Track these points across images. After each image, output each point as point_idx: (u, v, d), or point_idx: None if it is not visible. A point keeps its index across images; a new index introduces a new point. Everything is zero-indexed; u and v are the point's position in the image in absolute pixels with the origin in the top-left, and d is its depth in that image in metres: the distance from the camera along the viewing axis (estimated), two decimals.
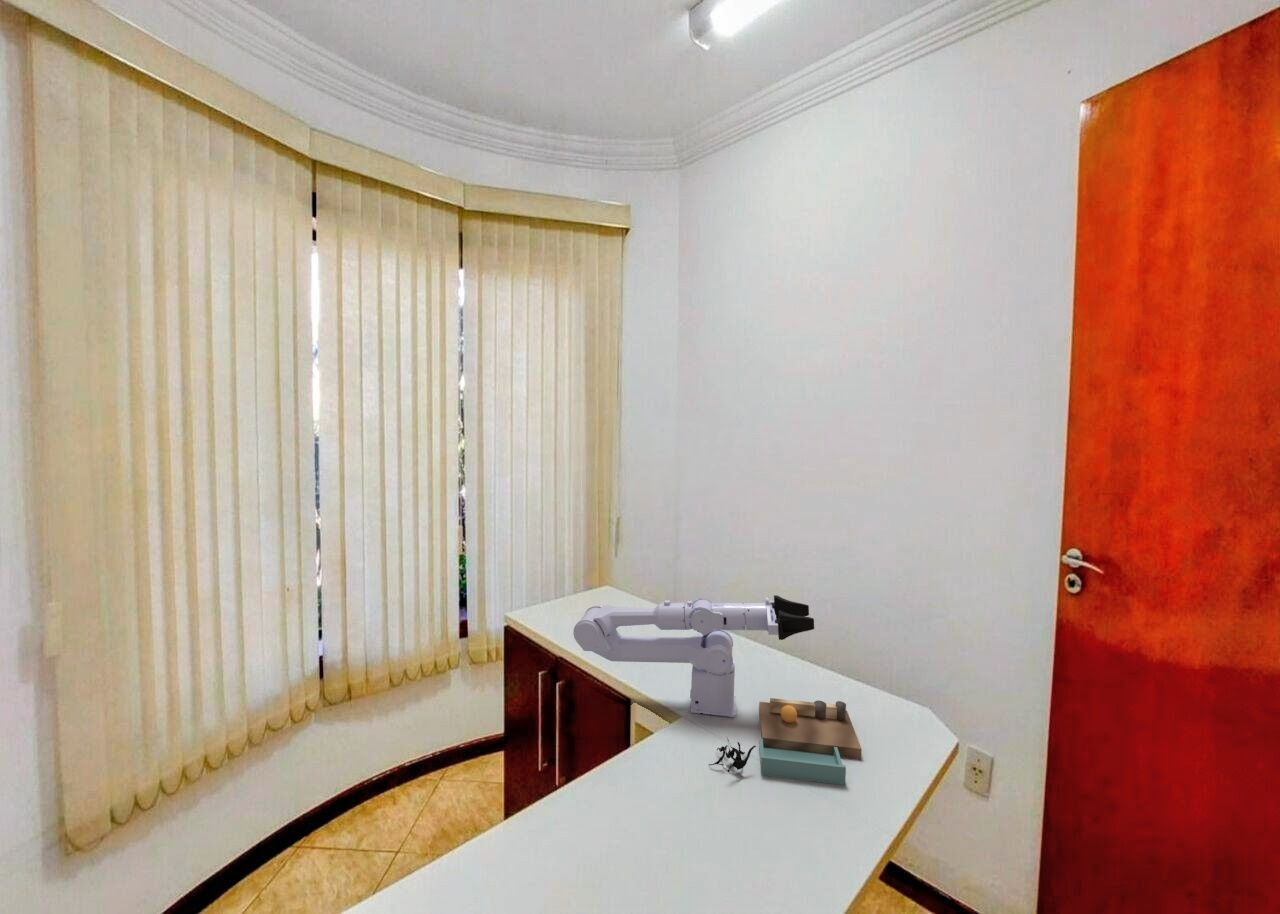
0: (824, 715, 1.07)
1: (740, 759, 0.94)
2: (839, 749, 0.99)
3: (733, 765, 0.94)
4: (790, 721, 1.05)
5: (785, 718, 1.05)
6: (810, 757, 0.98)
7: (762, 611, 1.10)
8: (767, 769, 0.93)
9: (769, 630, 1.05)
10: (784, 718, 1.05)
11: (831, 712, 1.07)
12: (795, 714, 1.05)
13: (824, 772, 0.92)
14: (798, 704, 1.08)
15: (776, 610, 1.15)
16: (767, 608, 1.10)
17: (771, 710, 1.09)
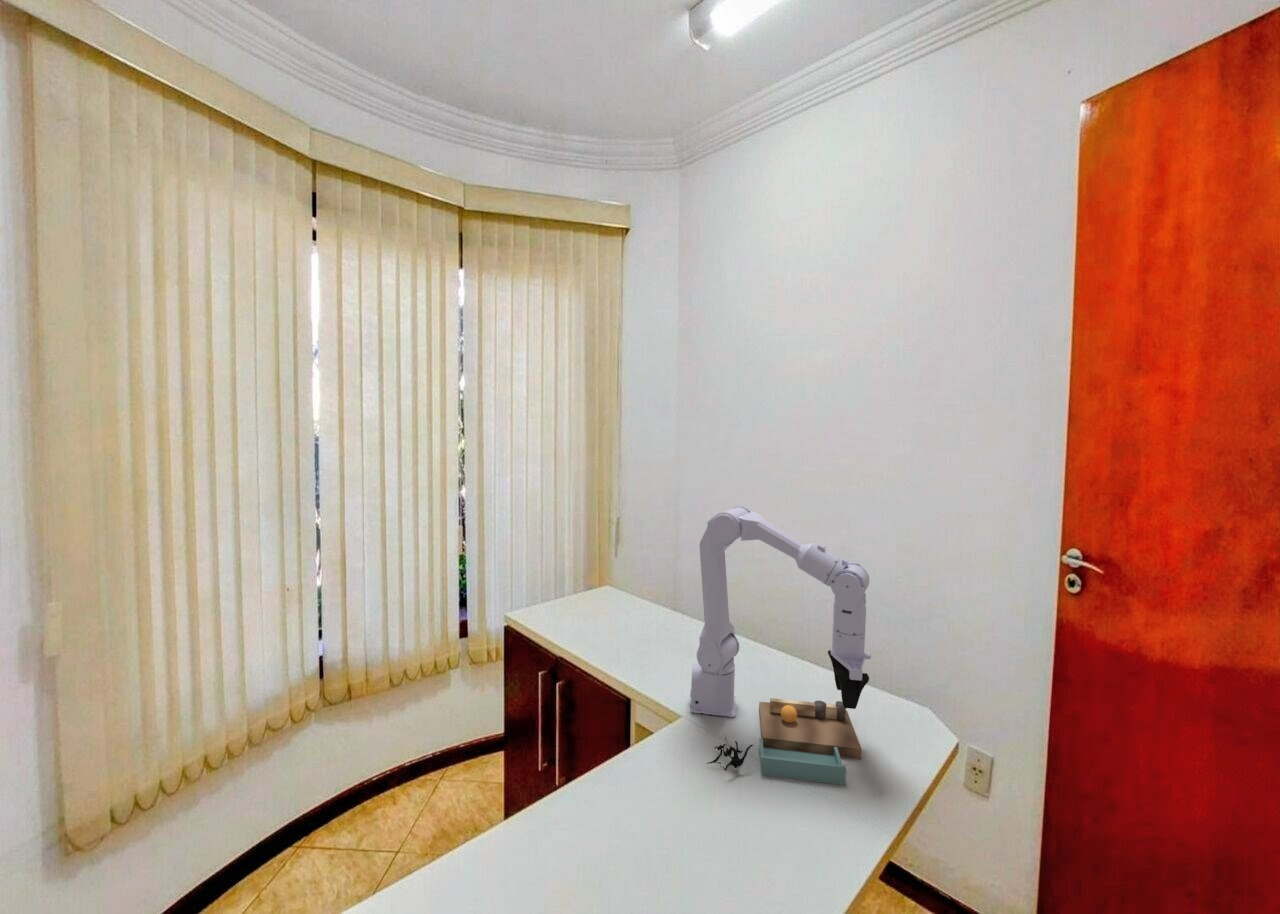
0: (824, 715, 1.07)
1: (737, 758, 0.94)
2: (839, 749, 0.99)
3: (730, 763, 0.94)
4: (790, 721, 1.05)
5: (785, 718, 1.05)
6: (810, 757, 0.98)
7: (860, 653, 0.97)
8: (767, 769, 0.93)
9: (855, 670, 0.93)
10: (784, 718, 1.05)
11: (831, 712, 1.07)
12: (795, 714, 1.05)
13: (824, 772, 0.92)
14: (798, 704, 1.08)
15: None
16: (864, 659, 0.98)
17: (771, 710, 1.09)
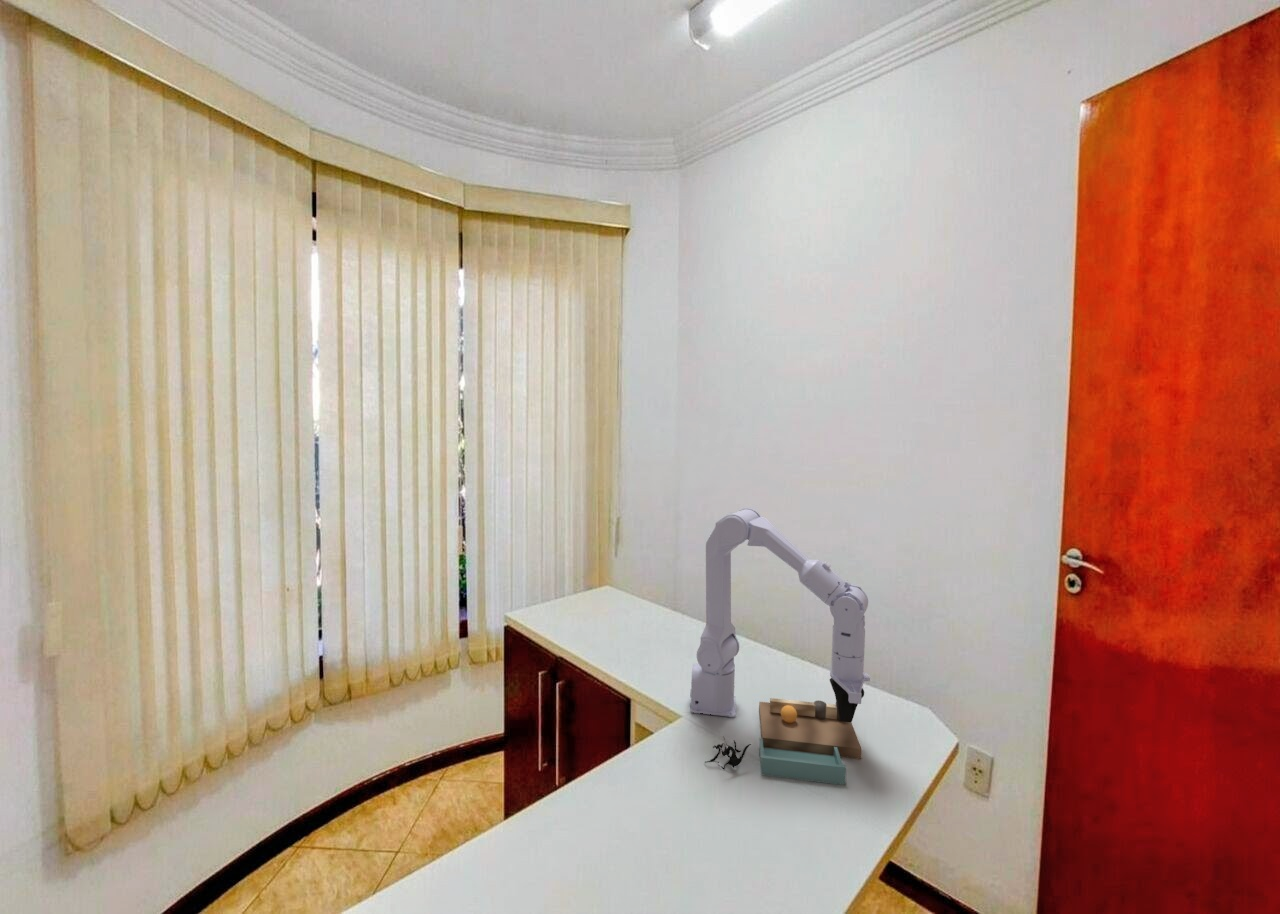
0: (824, 715, 1.07)
1: (735, 757, 0.94)
2: (839, 749, 0.99)
3: (728, 763, 0.95)
4: (790, 721, 1.05)
5: (785, 718, 1.05)
6: (810, 757, 0.98)
7: (860, 676, 0.98)
8: (767, 769, 0.93)
9: (855, 694, 0.93)
10: (784, 718, 1.05)
11: (831, 712, 1.07)
12: (795, 714, 1.05)
13: (824, 772, 0.92)
14: (798, 704, 1.08)
15: None
16: (863, 681, 0.98)
17: (771, 710, 1.09)
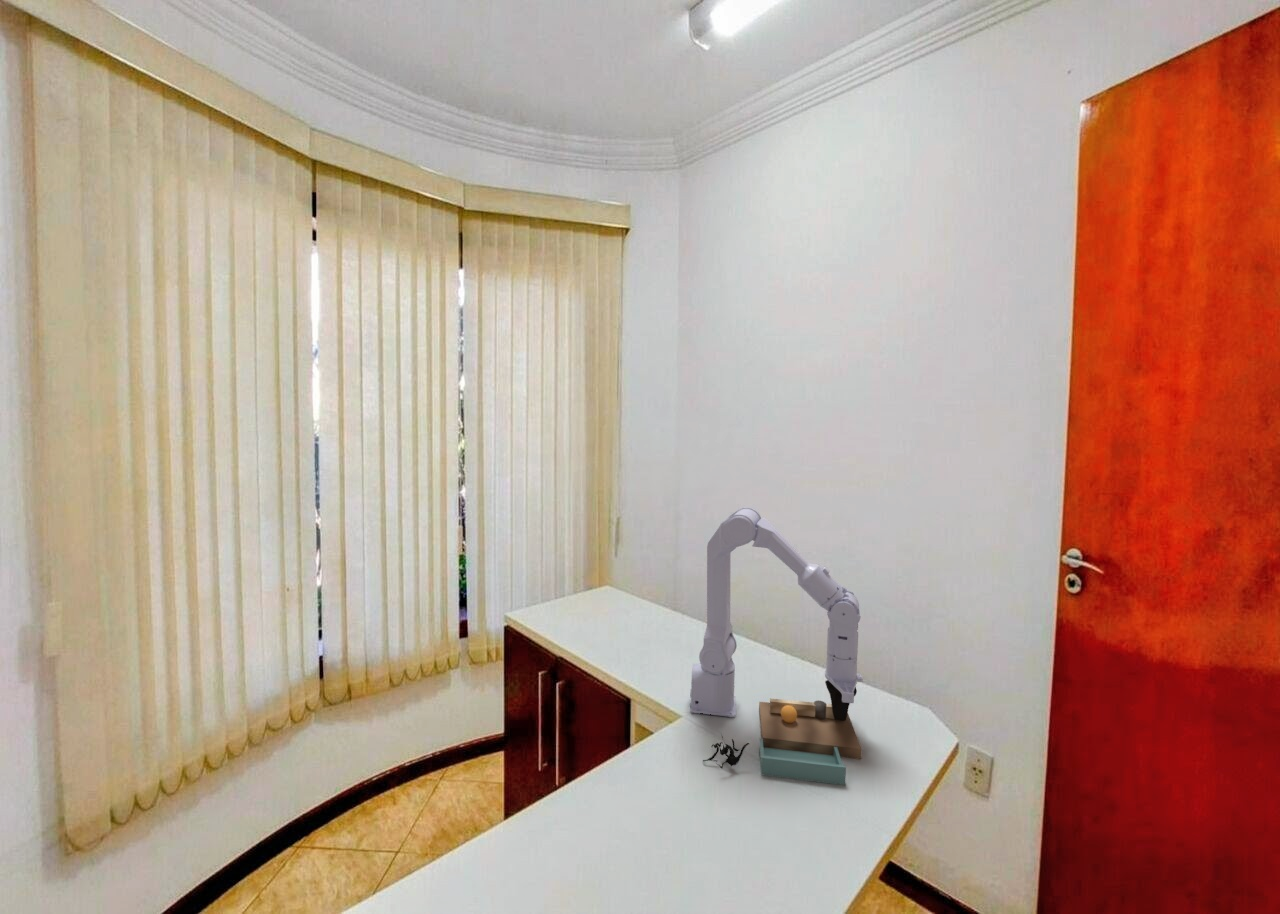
0: (824, 715, 1.07)
1: (733, 756, 0.94)
2: (839, 749, 0.99)
3: (726, 761, 0.95)
4: (790, 721, 1.05)
5: (785, 718, 1.05)
6: (810, 757, 0.98)
7: (853, 677, 1.03)
8: (767, 769, 0.93)
9: (847, 694, 0.98)
10: (784, 718, 1.05)
11: (831, 712, 1.07)
12: (795, 714, 1.05)
13: (824, 772, 0.92)
14: (798, 704, 1.08)
15: None
16: (856, 681, 1.03)
17: (771, 710, 1.09)
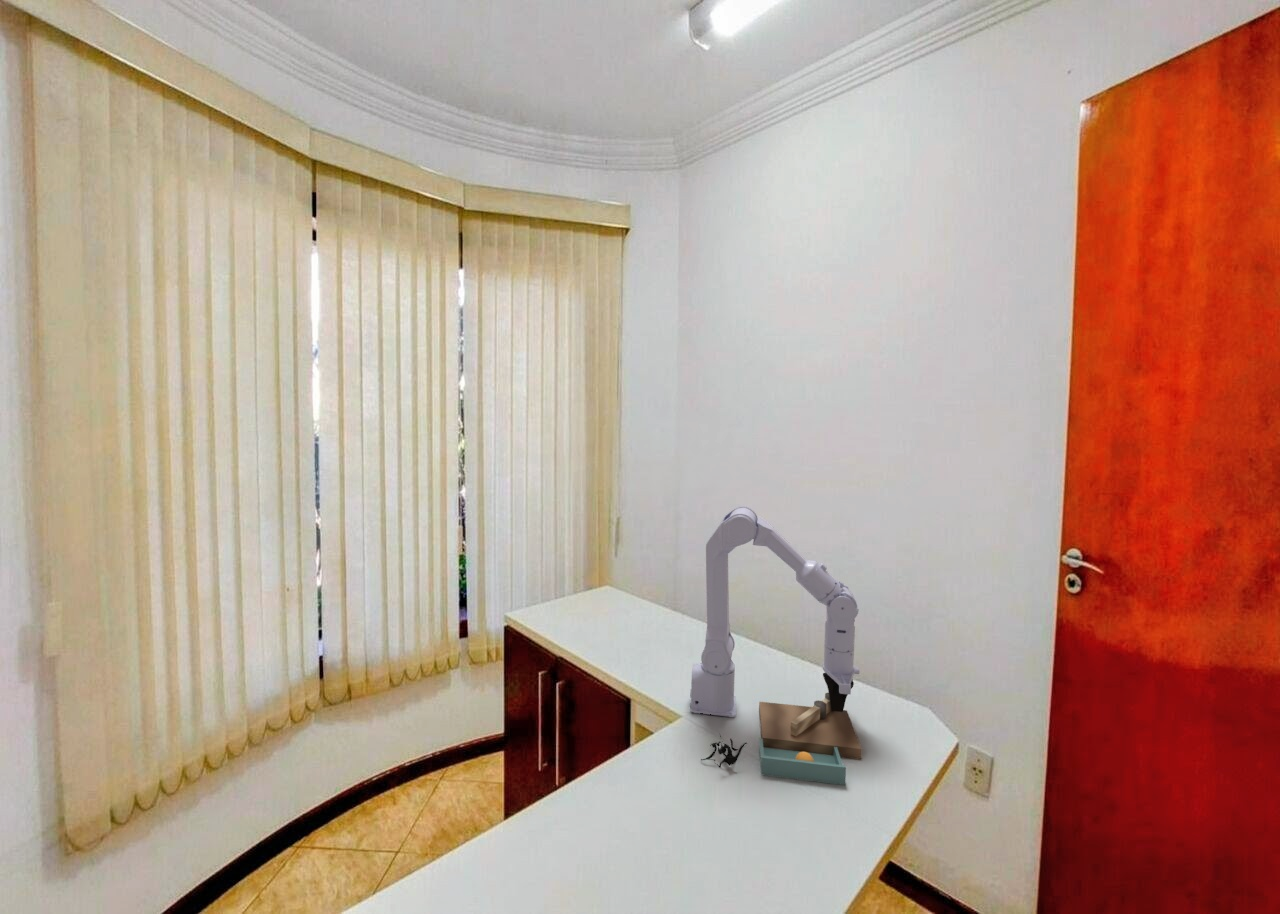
0: (825, 713, 1.08)
1: (731, 755, 0.95)
2: (839, 749, 0.99)
3: (724, 761, 0.95)
4: None
5: None
6: None
7: (850, 669, 1.06)
8: (767, 769, 0.93)
9: (844, 685, 1.01)
10: None
11: (827, 707, 1.09)
12: None
13: (824, 772, 0.92)
14: (811, 714, 1.05)
15: None
16: (853, 674, 1.06)
17: (796, 734, 1.01)
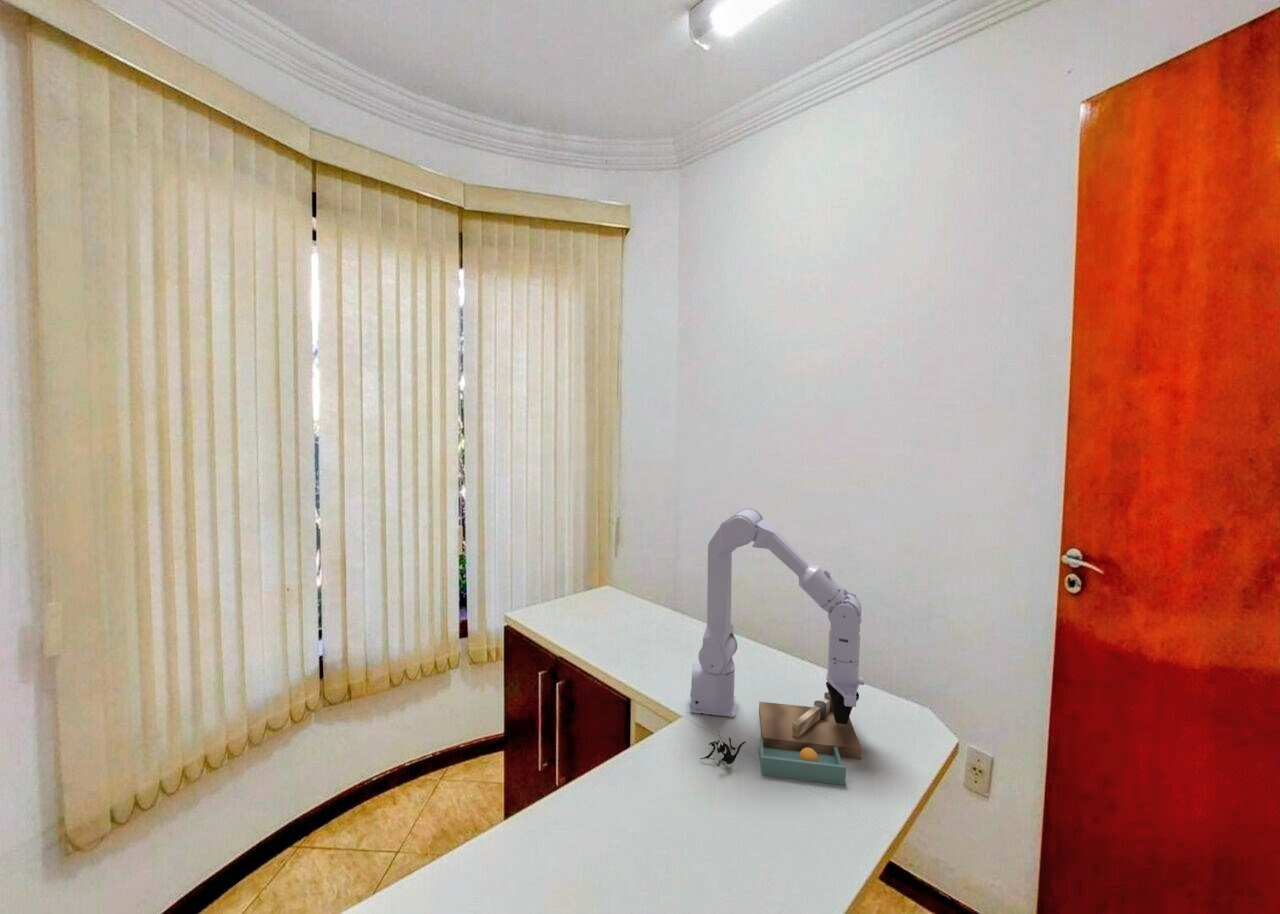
0: (825, 713, 1.08)
1: (730, 754, 0.95)
2: (839, 749, 0.99)
3: (723, 760, 0.95)
4: None
5: (800, 759, 0.95)
6: None
7: (855, 680, 1.02)
8: (767, 769, 0.93)
9: (850, 697, 0.97)
10: (800, 758, 0.96)
11: (827, 707, 1.09)
12: None
13: (824, 772, 0.92)
14: (812, 714, 1.05)
15: None
16: (858, 685, 1.02)
17: (798, 734, 1.01)
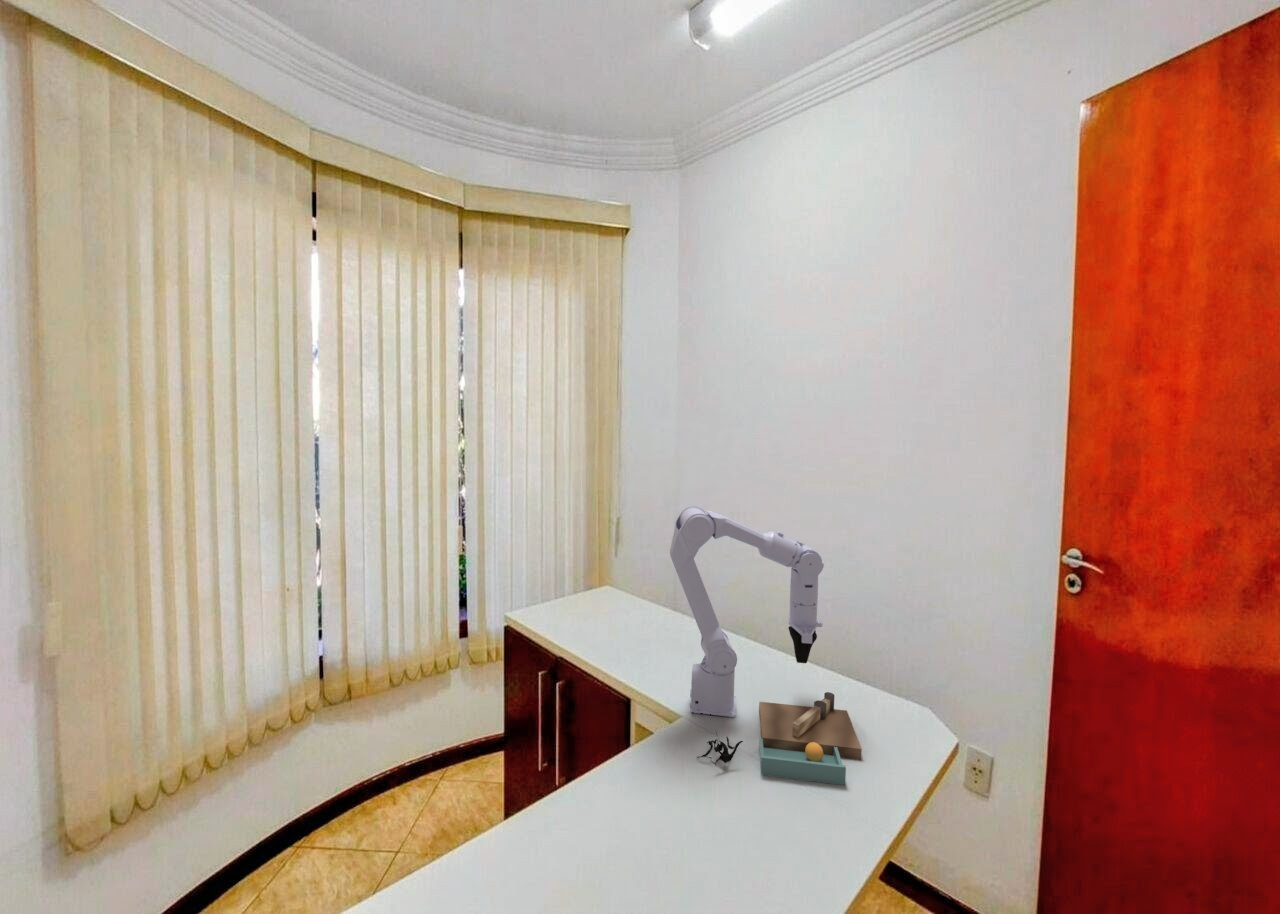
0: (825, 713, 1.08)
1: (727, 753, 0.95)
2: (839, 749, 0.99)
3: (720, 758, 0.96)
4: (808, 751, 0.96)
5: (807, 745, 0.97)
6: None
7: (813, 622, 1.12)
8: (767, 769, 0.93)
9: (806, 635, 1.08)
10: (807, 745, 0.97)
11: (827, 707, 1.09)
12: (818, 752, 0.96)
13: (824, 772, 0.92)
14: (812, 714, 1.05)
15: None
16: (816, 626, 1.12)
17: (798, 734, 1.01)
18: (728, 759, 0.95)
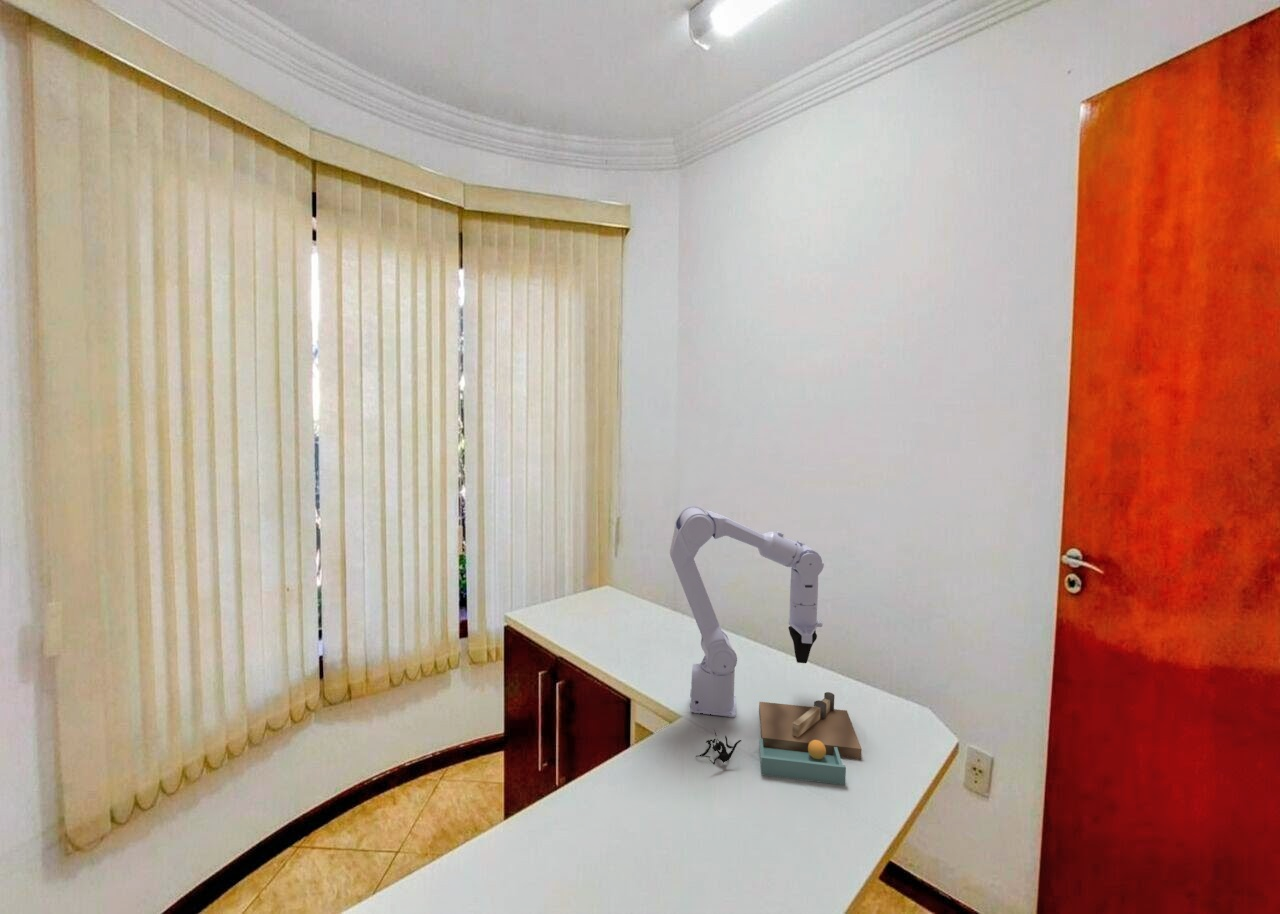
0: (825, 713, 1.08)
1: (725, 752, 0.95)
2: (839, 749, 0.99)
3: (718, 758, 0.96)
4: (813, 743, 0.97)
5: None
6: (810, 757, 0.98)
7: (813, 622, 1.12)
8: (767, 769, 0.93)
9: (806, 635, 1.08)
10: (811, 741, 0.99)
11: (827, 707, 1.09)
12: (822, 747, 0.97)
13: (824, 772, 0.92)
14: (812, 714, 1.05)
15: None
16: (816, 626, 1.12)
17: (798, 734, 1.01)
18: (726, 758, 0.95)
